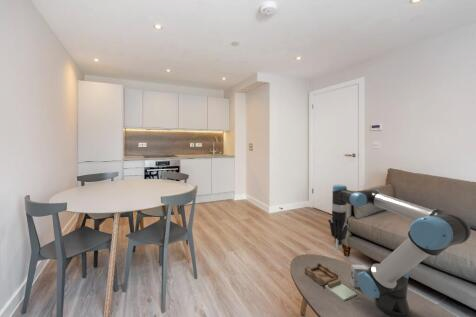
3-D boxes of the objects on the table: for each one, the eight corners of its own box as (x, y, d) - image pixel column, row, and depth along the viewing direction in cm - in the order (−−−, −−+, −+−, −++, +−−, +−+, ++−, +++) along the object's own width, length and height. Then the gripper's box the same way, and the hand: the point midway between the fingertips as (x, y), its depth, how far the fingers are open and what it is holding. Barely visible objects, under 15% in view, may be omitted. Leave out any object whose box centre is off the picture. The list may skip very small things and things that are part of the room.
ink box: (364, 283, 135) (365, 264, 134) (368, 288, 131) (369, 269, 130) (349, 282, 136) (351, 263, 135) (353, 287, 131) (354, 268, 130)
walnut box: (338, 281, 137) (338, 274, 136) (322, 287, 131) (323, 280, 131) (319, 268, 150) (319, 262, 150) (304, 273, 144) (305, 267, 144)
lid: (356, 296, 125) (356, 289, 124) (343, 301, 120) (344, 295, 120) (337, 283, 136) (337, 277, 136) (325, 288, 131) (325, 282, 131)
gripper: (353, 212, 128) (351, 252, 129) (333, 207, 139) (332, 244, 140) (344, 214, 124) (343, 255, 125) (325, 208, 136) (324, 246, 137)
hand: (337, 249), depth 133 cm, fingers closed
